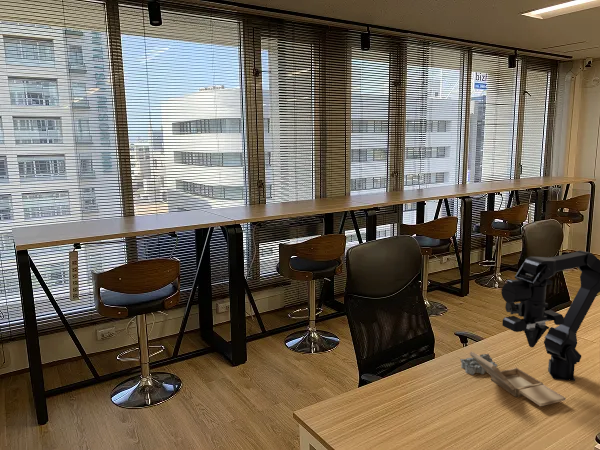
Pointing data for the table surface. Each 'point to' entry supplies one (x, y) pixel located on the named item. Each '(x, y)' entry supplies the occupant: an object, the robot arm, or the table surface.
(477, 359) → the flap
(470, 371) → the egg carton
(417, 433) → the table surface
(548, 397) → the carton
